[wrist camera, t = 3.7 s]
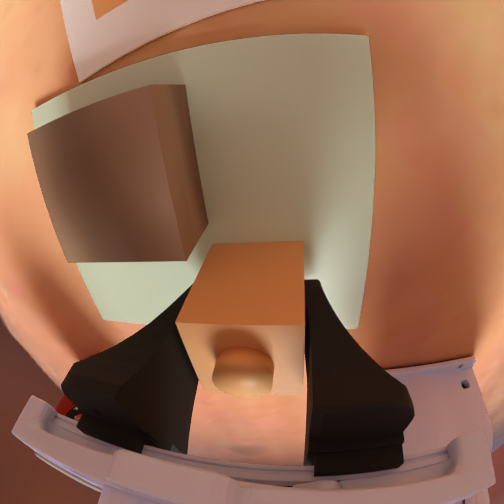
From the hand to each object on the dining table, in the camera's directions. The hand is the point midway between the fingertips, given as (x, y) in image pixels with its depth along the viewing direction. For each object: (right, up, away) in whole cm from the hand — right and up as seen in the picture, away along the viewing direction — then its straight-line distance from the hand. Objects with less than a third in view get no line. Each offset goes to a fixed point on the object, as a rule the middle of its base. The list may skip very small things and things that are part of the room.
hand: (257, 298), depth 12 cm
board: (-3, +4, 0) cm, 5 cm away
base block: (-5, +6, -1) cm, 8 cm away
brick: (0, +1, +1) cm, 1 cm away
